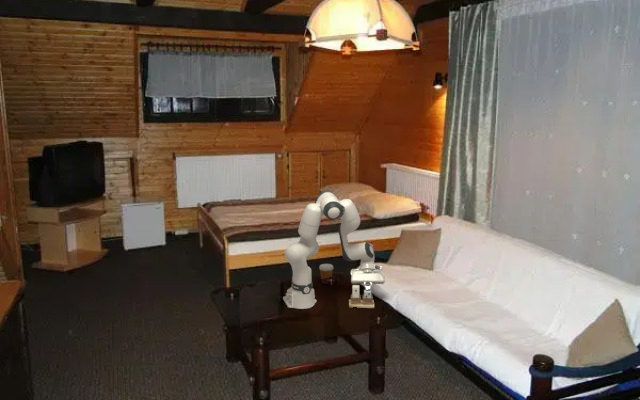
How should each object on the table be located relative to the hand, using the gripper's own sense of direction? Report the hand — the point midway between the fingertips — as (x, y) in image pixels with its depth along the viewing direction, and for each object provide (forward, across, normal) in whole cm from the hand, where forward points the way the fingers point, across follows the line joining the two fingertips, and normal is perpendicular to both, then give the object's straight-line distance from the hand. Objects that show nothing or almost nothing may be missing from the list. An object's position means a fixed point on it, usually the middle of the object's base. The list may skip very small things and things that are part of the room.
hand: (367, 289), depth 317 cm
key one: (+4, -7, +4) cm, 9 cm away
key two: (+6, 0, +6) cm, 8 cm away
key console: (+6, -4, +7) cm, 10 cm away
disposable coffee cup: (-19, -26, +32) cm, 45 cm away
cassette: (-13, -43, +26) cm, 52 cm away
